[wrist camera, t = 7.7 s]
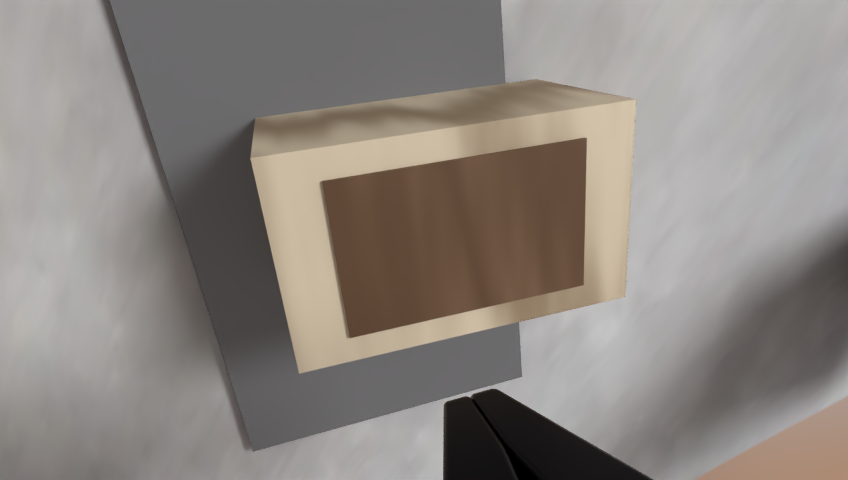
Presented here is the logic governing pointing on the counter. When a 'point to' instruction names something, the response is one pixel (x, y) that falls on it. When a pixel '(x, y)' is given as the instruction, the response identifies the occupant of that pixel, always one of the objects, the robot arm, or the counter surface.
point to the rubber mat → (237, 191)
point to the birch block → (443, 213)
